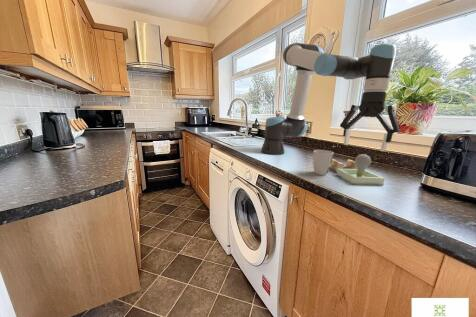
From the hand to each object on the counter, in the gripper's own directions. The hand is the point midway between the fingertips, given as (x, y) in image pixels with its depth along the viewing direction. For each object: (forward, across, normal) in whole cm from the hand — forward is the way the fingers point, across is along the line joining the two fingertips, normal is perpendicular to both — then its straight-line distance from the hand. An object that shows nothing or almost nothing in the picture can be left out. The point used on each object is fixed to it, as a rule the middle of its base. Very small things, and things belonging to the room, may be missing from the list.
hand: (363, 147), depth 78 cm
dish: (+13, +1, 0) cm, 13 cm away
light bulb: (+13, +1, 0) cm, 13 cm away
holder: (+14, -9, +8) cm, 18 cm away
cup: (+14, -13, -6) cm, 20 cm away
